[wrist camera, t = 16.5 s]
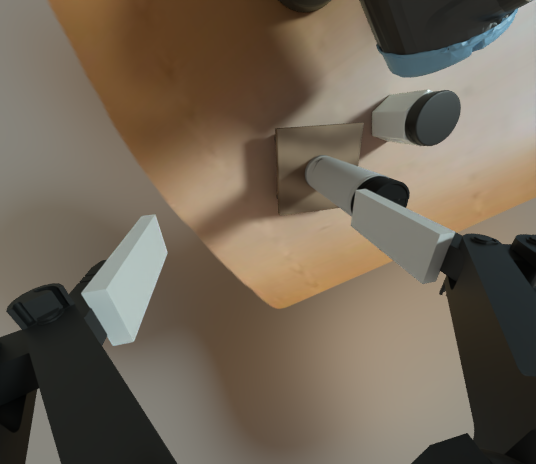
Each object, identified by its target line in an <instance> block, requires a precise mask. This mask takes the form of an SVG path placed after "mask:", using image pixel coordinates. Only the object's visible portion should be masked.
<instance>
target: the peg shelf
mask: <svg viewBox="0 0 536 464" xmlns="http://www.w3.org/2000/svg"><path fill="white" fill-rule="evenodd" d="M363 126H364V123H347V124H333V125H319V126H305V127H291V128H277V129H275V132H276V135H275V142H276V161H277V189H278V194H277V199H278V213H279V215H280V216H282V215H289V214H297V213H304V212H312V211H319V210H327V209H334V208H339V207H338V206H337V205H335V204H334V203H333V202H331V201H330V200H329V199H327V198H326V197H325V196H323V195H322V194H320V193H319V192H318V191H316V190H315V189H314V188H312V187H311V186H310V185H309V184H308V183H307V182H306V179H305V169H306V166H307V165H308V163H309V162H310V161H311V160H312V159H313V158H314V157H316V156H319V155H326V156H329V157H332V158H335V159H338V160H341V161H344V162H347V163H349V164H352V165H355V166H358V162H359V155H360V148H361V140H362V133H363Z"/></svg>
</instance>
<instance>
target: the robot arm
mask: <svg viewBox="0 0 536 464" xmlns="http://www.w3.org/2000/svg"><path fill="white" fill-rule="evenodd" d="M279 1H280V2H281V3H282V4H284V5H285V6H286V7H288V8H290V9H292V10H295V11H299V12H311V11H315V10H318V9H320V8H322V7H323V6H325V5H326V4H328V3H329V2H330V1H331V0H279ZM359 1H360V3H361V6H362V8H363V11H364V13H365V15H366V18H367V20H368V23H369V25H370V28H371V30H372V32H373V35H374V37H375V40H376V42H377V45H376V46H377V49H378V51H379V53H381V54H382V55H383V57H384V59H385V61H386V63H387V65H388V67H389V69H390V71H391V72H392V73H393V74H396V75H399V76H400V77H418V76H423V75H426V74H430V73H433V72H436V71H439V70H442V69H444V68H447V67H449V66H451V65H454V64H456V63H458V62H460V61H462V60H464V59H466V58H467V57H469V56H470V55H471V53H472V52H474V51H476V50H480V49H483V48H484V47H486V46H487V45H489V44H490V43H492V42H493V41H494V40H496V39H497V38H498V37H499V36H500V35H501V34H502V33H503V32H504V31H505V30H507V28H508V27H509V26H510V24H511V23H512V21H513V20H514V17H515V14H516V13H517V11H518V8H519V7H521V6H523V5H525V4H527V3H529V2H531V1H533V0H359ZM351 226H352V227H353V228H354V229H355V230H357V231H358V232H359V233H360V234H361V235H363V236H364V237H365V238H366V239H368V240H369V241H370V242H371V243H373V244H374V245H375V246H376V247H377V248H379V249H380V250H381V251H382V252H384V253H385V254H386V255H387V256H389V257H390V258H391V259H392V260H393V261H395V262H396V263H397V264H398V265H400V266H401V267H402V268H403V269H405V270H406V271H407V272H408V273H409V274H411V275H412V276H413V277H414V278H416V279H417V280H418V281H420V282H421V283H422V284H425V283H429V282H435V281H436V280H437V277H438V275H439V272H440V271H441V272H443V273H444V274H446V278H445V280H444V283H443V285H442V288H441V290H440V293H439V294H440V295H442V293H443V292H445V291H446V296H447V298H448V303H449V308H450V313H451V317H452V322H453V327H454V332H455V336H456V341H457V346H458V351H459V355H460V360H461V365H462V369H463V374H464V379H465V384H466V388H467V393H468V398H469V403H470V408H471V412H472V417H473V422H474V438H473V440H472V438H471V437H470V436H469V435H468V433H466V434H463V435H460V436H457V437H454V438H451V439H448V440H445V441H442V442H438V443H435V444H433V445H430V446H429V447H428V448H427V449H426V450H425V451H424V452H423V453H422V454H421V455H420V456H419V457H418V458H417V459H416V460H414V462H412V463H411V464H536V235H526V234H525V235H524V234H523V235H517V236H516V238H515V239H514V241H513V243H512V244H509V245H508V244H501V243H500V242H499V241H498V240H496V239H494V238H491V237H488V236H485V235H480V234H465V235H463V236H462V235H460V234H458V233H456V232H455V231H453V230H450V229H448V228H446V227H444V226H442V225H440V224H438V223H436V222H434V221H432V220H430V219H428V218H425V217H423V216H421V215H419V214H417V213H415V212H413V211H411V210H409V209H407V208H405V207H403V206H400V205H398V204H396V203H394V202H392V201H390V200H388V199H386V198H384V197H382V196H380V195H378V194H375V193H373V192H371V191H369V190H367V189H361V190H356V191H355V199H354V206H353V213H352V220H351ZM167 253H168V252H167V249H166V246H165V243H164V240H163V237H162V234H161V231H160V228H159V224H158V221H157V218H156V215H155V214H154V215H146V216H141V218H140V219H139V220H138V221H137V223H136V224H135V225H134V227H133V228H132V229H131V230H130V232H129V233H128V234H127V235H126V237H125V238H124V239H123V241H122V242H121V243H120V244H119V246H118V247H117V248H116V249H115V251H114V252H113V253H112V254H111V256H110V257H109V258H108V260H103V261H101V262H99V263H98V264H96V265H95V266H93V267H92V268H91V269H90V270H89V271H88V273H87V274H86V275H85V277H83V278H82V280H81V281H80V283H78V284H77V285H76V287H75V288H74V289H73V290H72V291H71V293H70V294H68V293H67V291H66V289H65V288H64V286H63V285H61V284H48V285H43V286H40V287H38V288H35V289H32V290H30V291H29V292H26V293H24V294H22V295H21V296H20V297H18V298H16V299H15V300H14V301H13V302H12V303H11V304H10V305H9V306H8V308H7V312H8V314H9V315H10V316H11V317H12V318H13V320H14V321H15V322H16V323H17V324H18V325H19V326H20V328H21V329H22V330H19V331H17V332H14V333H11V334H8V335H5V336H3V337H0V464H25V461H26V455H27V449H28V443H29V436H30V430H31V424H32V418H33V412H34V406H35V399H36V393H37V389H38V388H40V392H41V395H42V399H43V402H44V406H45V409H46V413H47V416H48V420H49V423H50V426H51V430H52V433H53V437H54V440H55V444H56V447H57V451H58V454H59V458H60V461H61V464H177V462H176V461H175V459H174V458H173V456H172V455H171V453H170V451H169V450H168V448H167V447H166V445H165V444H164V442H163V440H162V439H161V437H160V436H159V434H158V433H157V431H156V430H155V428H154V426H153V425H152V423H151V422H150V420H149V419H148V417H147V416H146V414H145V412H144V411H143V409H142V408H141V406H140V405H139V403H138V402H137V400H136V398H135V397H134V395H133V394H132V392H131V391H130V389H129V387H128V386H127V384H126V383H125V381H124V380H123V378H122V376H121V375H120V373H119V372H118V370H117V369H116V367H115V366H114V364H113V362H112V361H111V359H110V358H109V356H108V355H107V353H106V351H105V350H104V349H103V347H102V345H103V343H104V341H105V339H106V337H108V339H109V340H110V342H111V343H112V345H113V346H115V345H120V344H125V343H130V342H134V340H135V337H136V335H137V332H138V329H139V327H140V324H141V322H142V319H143V316H144V314H145V311H146V308H147V306H148V303H149V300H150V298H151V295H152V292H153V289H154V287H155V284H156V281H157V279H158V276H159V274H160V271H161V268H162V266H163V264H164V261H165V258H166V255H167Z"/></svg>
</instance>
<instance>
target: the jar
mask: <svg viewBox="0 0 536 464" xmlns="http://www.w3.org/2000/svg"><path fill="white" fill-rule="evenodd" d="M460 110H461V105H460V100H459V98H458V96H457V95H456V94H455V93H454V92H452V91H449V90H443V91H435V92H432V91H430V90H421V91H414V92H407V93H399V94H392V95H389V96H388V97H387V98H386V99H385V100H384V101H383V102H382V103H381V104H380V105H379V106H378V107H377V108H376V109H375V110H374V111H373V112H372V136H374V137H377V138H380V139H382V140H385V141H388V142H394V143H402V144H409V145H416V146H433V145H436V144H438V143H440V142H442V141H443V140H444V139H446V138H447V137H448V136H449V135H450V133H451V132H452V131H453V129H454V128H455V126H456V124H457V122H458V119H459V116H460Z"/></svg>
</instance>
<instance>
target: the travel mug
mask: <svg viewBox="0 0 536 464" xmlns="http://www.w3.org/2000/svg"><path fill="white" fill-rule="evenodd" d="M305 179H306V182H307V183H308V184H309V185H310V186H311V187H312V188H314V189H315V190H316V191H318V192H319V193H320V194H322V195H323V196H325V197H326V198H327V199H329V200H330V201H331V202H333V203H334V204H335V205H337V206H338V207H339V208H341V209H342V210H343V211H345V212H346V213H347V214H349V215H350V216H352V213H353V206H354V199H355V191H356V190H361V189H367V190H369V191H371V192H373V193H375V194H378V195H380V196H382V197H384V198H386V199H388V200H390V201H392V202H394V203H396V204H398V205H400V206H403V207H405V208H406V206H407V203H408V199H409V193H410V192H409V189H408V187H407V186H406V185H405V184H404V183H402V182H400V181H397V180H394V179H391V178H389V177H387V176H384V175H381V174H378V173H375V172H373V171H370V170H367V169H364V168H361V167H358V166H355V165H352V164H349V163H347V162H344V161H341V160H338V159H335V158H332V157H329V156H326V155H319V156H316V157H314V158H313V159H312V160H311V161H310V162H309V163H308V165H307V166H306V169H305Z"/></svg>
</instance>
